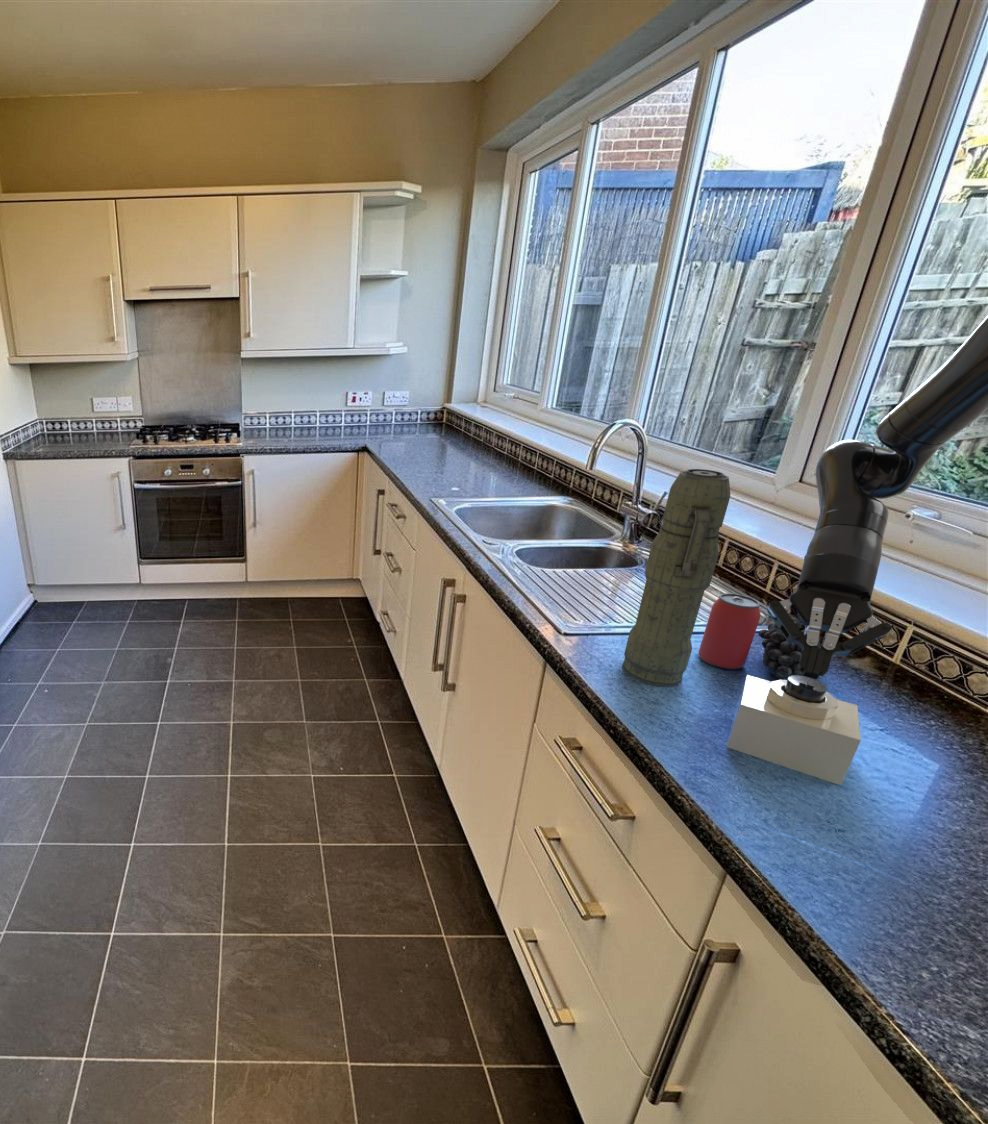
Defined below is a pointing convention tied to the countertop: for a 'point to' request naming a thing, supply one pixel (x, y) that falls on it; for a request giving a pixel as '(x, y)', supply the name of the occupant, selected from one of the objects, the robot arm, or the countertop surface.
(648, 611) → the thermos
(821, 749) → the push button housing
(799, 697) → the black push button
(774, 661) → the fruit
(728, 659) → the beer can
